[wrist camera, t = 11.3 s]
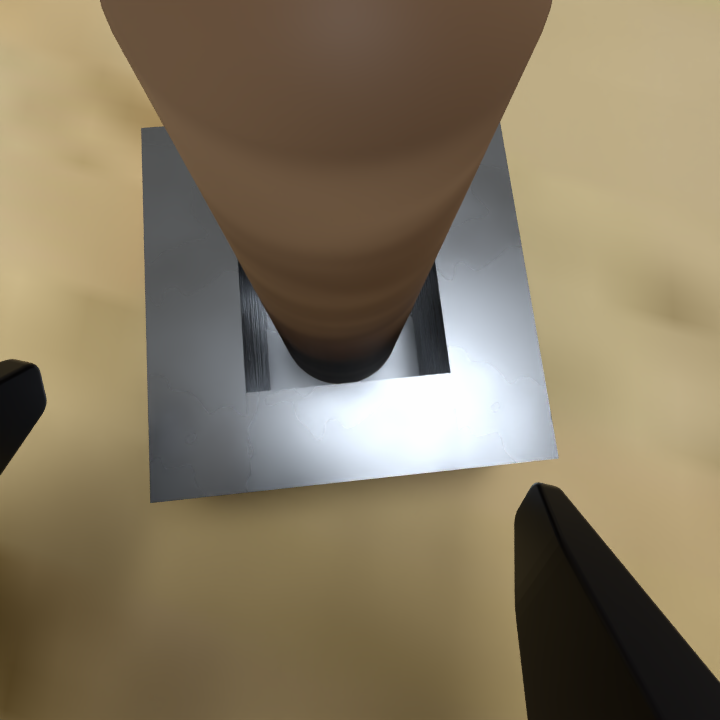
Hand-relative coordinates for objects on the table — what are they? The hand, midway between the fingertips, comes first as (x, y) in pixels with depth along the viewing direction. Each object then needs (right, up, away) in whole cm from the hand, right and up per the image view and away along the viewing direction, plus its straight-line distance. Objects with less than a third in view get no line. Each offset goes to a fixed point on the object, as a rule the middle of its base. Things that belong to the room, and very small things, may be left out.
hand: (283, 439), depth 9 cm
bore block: (+1, +3, +9) cm, 9 cm away
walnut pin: (+1, +3, +8) cm, 9 cm away
